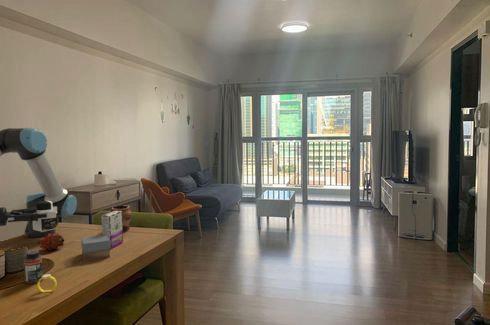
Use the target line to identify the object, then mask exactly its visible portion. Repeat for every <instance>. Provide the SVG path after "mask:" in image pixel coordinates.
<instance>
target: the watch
mask: <svg viewBox="0 0 490 325" xmlns="http://www.w3.org/2000/svg"><path fill="white" fill-rule="evenodd" d="M42 279H43V280H47V279H50V280H52V281H53V284H54V286H53V288H52V289H46V290H44V289H42V287H41V282H42V281H43V280H42ZM41 280H42V281H41ZM36 284H37V285H36V288H37V290H38V291H39V292H40V293H43V294H44V293H52V292H54V290H55V289H56V288H57V284H58V283H57V279H56V278H55V277H54V276H52V274H50V273H49V274H43V276H42V278H41V279H40V280H39V281H38V283H36Z"/></svg>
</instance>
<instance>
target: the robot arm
mask: <svg viewBox="0 0 490 325" xmlns="http://www.w3.org/2000/svg"><path fill="white" fill-rule="evenodd" d="M47 142H48V139H47V136H46V134H44V132H43V131H42V130H40V129H37V128H32V127H23V128H19V127H18V128H11V127H10V128H9V127H8V128H4V129H1V130H0V157H2V156H3V155H5V154H10V153H14V154H15V153H16V154H18V156H19V158H20V160H22V161H25V162H26V163H27V165H28V167H29V168H30V170H31V172H32V174H33V176H34V177H35V179H36V181H37V183H38V185H39V186H40V188H41V190H42V192H35V193H31V194H28V195H27V196H26V200H25V201H26V203H25V204H26V208H20V209H12V210H10V211H9V212H7V208H6V206H5V207H3V206H2V207H0V227H6V225H7V223H14V222H15V223H16V222H27V223H26V226H25V229H24V237H25V238H31V239H32V238H33V239H34V238H35V239H36V238H43V237H44V238H45V236H47V234H54V233H57V229H53V230H48V231H44V232H40V231H36V230H33V221H35V222H36V221H38V219H47V218H56V212H57V215H58V217H60V218H61V217H62V218H65V217H70V216H72V215H74V213H75V212H76V209H77V206H78V201H77V197H76V196H75V195H74V194H73V195H72V194H69V192H68V190H67V189H66V188H63V187H62V185H61V183H60V181H59V180H58V178H57V177H58V176H56V173H55V172H54V170H53V168H52V166H51V164H50V162H49V160H48V158H47V156H46V154H45V153H46V152H47V147H48V146H47V145H48V143H47ZM40 201H51V202H52V205H53V210H52V211H50V212H38V213H37V209H36V203H38V202H40Z"/></svg>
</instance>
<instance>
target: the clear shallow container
mask: <svg viewBox="0 0 490 325" xmlns="http://www.w3.org/2000/svg"><path fill="white" fill-rule="evenodd" d="M81 250H82V251H81V252H82V260H83V262H85V261H93V260H98V259H99V260H100V259H105V258H111V253H110V252H111V251H110V250H111V249H107V250H100V251H93V252H86V253H83V249H82V248H81ZM92 259H93V260H92Z"/></svg>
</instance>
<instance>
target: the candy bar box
mask: <svg viewBox="0 0 490 325" xmlns="http://www.w3.org/2000/svg"><path fill="white" fill-rule="evenodd" d="M100 219H101V235H106V234H107V236H108V238H109V240H110V250H112V249H114V248H116V247H118V246H119V245H121V244H124V233H123V232H124V231H123V228H122V211H112V212H108V213H105V214H103V215H100Z"/></svg>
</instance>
